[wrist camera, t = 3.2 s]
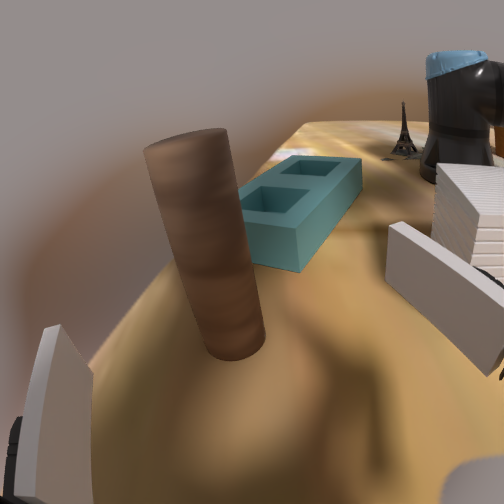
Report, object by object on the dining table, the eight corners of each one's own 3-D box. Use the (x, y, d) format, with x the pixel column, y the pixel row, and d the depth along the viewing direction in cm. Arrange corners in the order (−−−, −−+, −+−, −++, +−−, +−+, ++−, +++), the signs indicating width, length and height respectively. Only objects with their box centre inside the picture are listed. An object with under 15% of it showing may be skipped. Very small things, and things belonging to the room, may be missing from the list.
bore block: (295, 182, 55) (292, 155, 52) (362, 188, 48) (361, 158, 46) (208, 253, 38) (198, 215, 36) (299, 272, 32) (295, 228, 29)
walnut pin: (228, 311, 29) (183, 131, 21) (276, 326, 26) (243, 125, 18) (193, 347, 25) (126, 154, 17) (243, 369, 23) (185, 149, 14)
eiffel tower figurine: (381, 163, 60) (378, 99, 53) (368, 151, 69) (364, 95, 62) (443, 161, 58) (442, 101, 51) (424, 149, 67) (422, 96, 60)
